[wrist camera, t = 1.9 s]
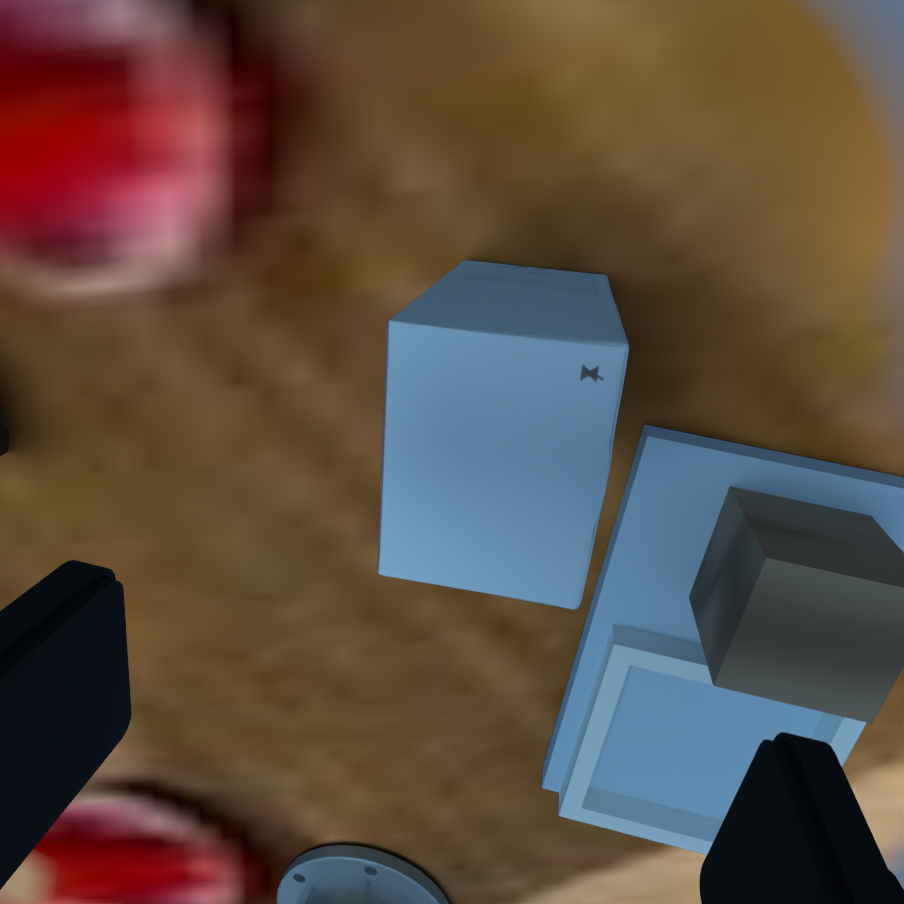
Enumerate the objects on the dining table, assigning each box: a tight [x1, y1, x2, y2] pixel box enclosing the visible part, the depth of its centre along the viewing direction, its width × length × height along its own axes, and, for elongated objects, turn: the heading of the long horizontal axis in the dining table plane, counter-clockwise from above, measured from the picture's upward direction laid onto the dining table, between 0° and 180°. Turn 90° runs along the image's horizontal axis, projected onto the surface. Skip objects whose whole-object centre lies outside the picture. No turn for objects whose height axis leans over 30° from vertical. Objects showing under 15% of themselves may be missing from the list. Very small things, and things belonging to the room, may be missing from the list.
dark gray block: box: [689, 486, 904, 724], centre depth 27 cm, size 6×6×6 cm
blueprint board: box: [542, 424, 904, 855], centre depth 32 cm, size 22×14×3 cm, turn 172°
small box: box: [378, 260, 629, 610], centre depth 24 cm, size 8×6×13 cm
